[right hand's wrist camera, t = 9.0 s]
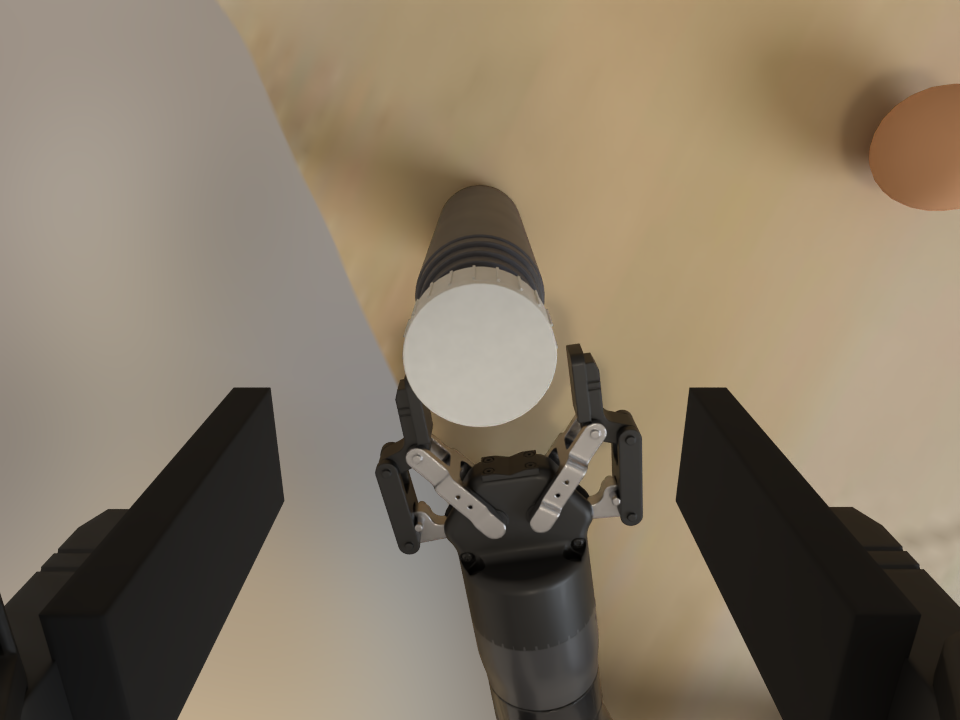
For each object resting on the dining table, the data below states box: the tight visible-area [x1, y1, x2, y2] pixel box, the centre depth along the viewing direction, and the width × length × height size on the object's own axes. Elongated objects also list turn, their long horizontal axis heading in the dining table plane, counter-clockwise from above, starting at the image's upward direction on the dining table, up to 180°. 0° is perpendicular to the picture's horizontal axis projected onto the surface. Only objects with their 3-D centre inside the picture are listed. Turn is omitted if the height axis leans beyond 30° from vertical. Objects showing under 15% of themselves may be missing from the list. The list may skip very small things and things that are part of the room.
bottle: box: [415, 186, 545, 305], centre depth 29 cm, size 5×5×21 cm
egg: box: [869, 84, 960, 211], centre depth 33 cm, size 6×6×8 cm
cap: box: [403, 265, 558, 427], centre depth 20 cm, size 4×4×2 cm
